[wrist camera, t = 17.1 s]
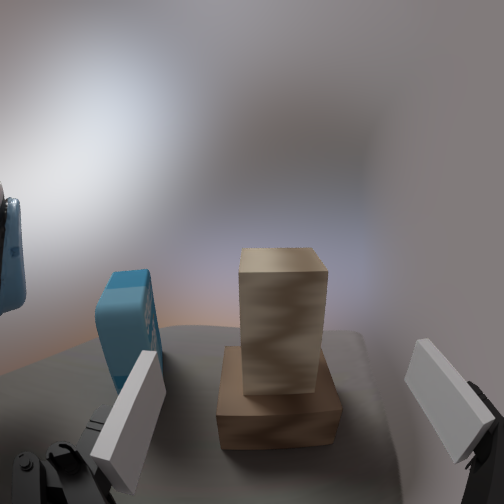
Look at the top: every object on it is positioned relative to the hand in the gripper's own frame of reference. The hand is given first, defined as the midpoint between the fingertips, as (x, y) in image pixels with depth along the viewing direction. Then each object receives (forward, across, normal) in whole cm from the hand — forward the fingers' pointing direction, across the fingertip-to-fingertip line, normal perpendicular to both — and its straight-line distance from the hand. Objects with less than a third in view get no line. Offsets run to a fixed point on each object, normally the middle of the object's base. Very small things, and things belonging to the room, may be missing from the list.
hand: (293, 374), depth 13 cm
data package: (+15, -15, -14) cm, 25 cm away
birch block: (+10, 0, -8) cm, 13 cm away
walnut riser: (+10, 0, -13) cm, 17 cm away
